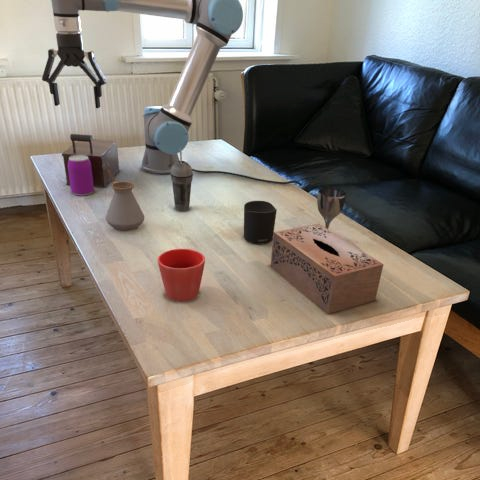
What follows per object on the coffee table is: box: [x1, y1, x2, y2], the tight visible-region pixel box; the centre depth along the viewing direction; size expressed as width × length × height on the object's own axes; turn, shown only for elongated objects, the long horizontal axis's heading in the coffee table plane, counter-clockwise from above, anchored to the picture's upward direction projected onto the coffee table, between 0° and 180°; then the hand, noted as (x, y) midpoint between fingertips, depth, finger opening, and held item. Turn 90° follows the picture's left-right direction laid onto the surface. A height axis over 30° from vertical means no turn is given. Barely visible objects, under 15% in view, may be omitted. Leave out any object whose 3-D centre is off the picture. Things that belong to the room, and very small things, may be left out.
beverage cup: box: [169, 148, 194, 212], centre depth 164 cm, size 7×7×20 cm
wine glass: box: [316, 186, 347, 230], centre depth 149 cm, size 8×8×15 cm
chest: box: [62, 143, 120, 188], centre depth 187 cm, size 19×14×10 cm
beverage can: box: [68, 155, 95, 197], centre depth 174 cm, size 8×8×12 cm
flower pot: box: [157, 248, 206, 303], centre depth 121 cm, size 11×11×10 cm
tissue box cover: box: [270, 223, 384, 315], centre depth 129 cm, size 26×14×10 cm, turn 29°
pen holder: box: [243, 200, 278, 245], centre depth 150 cm, size 9×9×10 cm
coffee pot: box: [102, 163, 145, 232], centre depth 154 cm, size 21×12×15 cm, turn 30°
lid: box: [61, 133, 118, 159], centre depth 182 cm, size 20×14×7 cm
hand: (77, 106), depth 169 cm, fingers open, 13 cm apart
